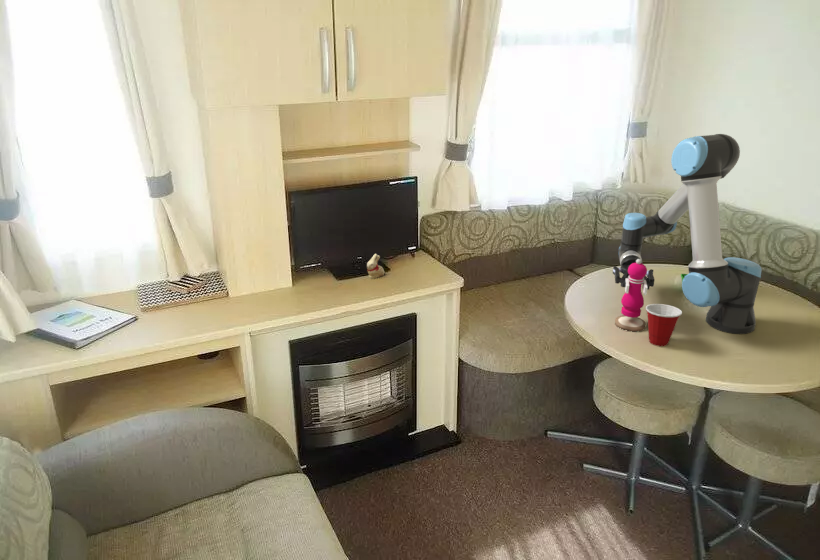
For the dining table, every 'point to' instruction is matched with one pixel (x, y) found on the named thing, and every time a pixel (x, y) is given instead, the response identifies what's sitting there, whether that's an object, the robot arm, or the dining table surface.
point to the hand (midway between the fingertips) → (636, 290)
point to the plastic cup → (661, 323)
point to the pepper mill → (634, 290)
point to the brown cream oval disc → (630, 323)
